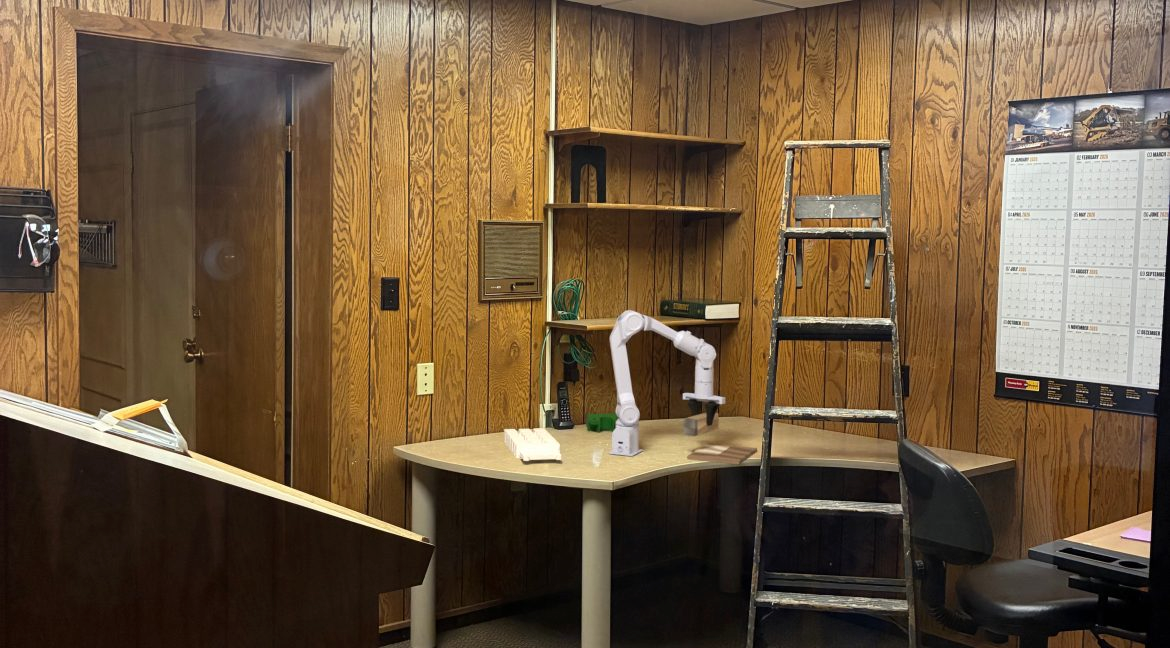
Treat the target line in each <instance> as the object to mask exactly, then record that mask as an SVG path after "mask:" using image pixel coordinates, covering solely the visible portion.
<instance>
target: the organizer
mask: <svg viewBox="0 0 1170 648" xmlns="http://www.w3.org/2000/svg"><path fill="white" fill-rule="evenodd" d="M532 430H533V431H532ZM532 430H531V428H518V431H517V430H516V429H515V428H504V429H503V443H504V442H505V443H506V445H507V446H508V447H509V449H510V450H511V452H513V454H514V456H515V457H516V458H522V459H523V460H522V461H524V462H529V461H532V460H533V461H534V460H535V461H538V460H541V461H542V460H555V461H561V460H562V458H563V457H562V454H561V453H560V452H561V451H560V450H561V449H560V448H561V445H560V442H558V440H556V438H555V437H554V436H552V434H551V433H549V431H547V430H546V429H545V427H544V428H543V427H540V428H539V427H538V428H534V427H533V429H532ZM506 445H505V446H506ZM507 446H506V447H507ZM509 449H508V450H509ZM510 450H509V451H510ZM511 452H510V453H511ZM513 454H512V455H513ZM514 456H513V457H514ZM515 457H514V458H515Z"/></svg>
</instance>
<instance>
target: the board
mask: <svg viewBox="0 0 1170 648" xmlns="http://www.w3.org/2000/svg"><path fill="white" fill-rule="evenodd" d="M757 452H758V448H757V447H749V446H739V445H728V444H717V443H706V444H704V445H703V446H701V447H699V448H698V449H696V450H694V451H693V452H692V453H690V454H688V455H687V456H686V460H690V461H691V460H692V461H702V462H703V461H704V462H711V463H712V462H713V463H719V464H720V463H723V464H729V465H730V464H731V465H732V464H733V465H740V464H742V463H743V462H744V461H745V460H747V459H748V458H750V457H751V456H752V455H754V454H755V453H757Z"/></svg>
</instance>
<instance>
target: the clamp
mask: <svg viewBox="0 0 1170 648" xmlns="http://www.w3.org/2000/svg"><path fill="white" fill-rule="evenodd" d="M618 419H619V418H618V416H617V415H616V412H612V413H587V414H586V423H585V427H586V428H587V431H589V432H595V431H596V432H597V433H598V434H599V433H601V431H611V433H613V431H614V430H615V428H616V421H617V420H618Z"/></svg>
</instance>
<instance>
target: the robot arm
mask: <svg viewBox="0 0 1170 648" xmlns="http://www.w3.org/2000/svg"><path fill="white" fill-rule="evenodd" d="M641 330H642V331H653V332H655V333H657V334H659V335H661V336H662V337H665V338H666V339H669V340H671V341H672V343H673V346H674V347H675V348H676V349H678V350H680V351H682V352H684V353H685V354H688V355H689V356H691V357H694V358H695V368H694V370H695V371H694V393H693V392H692V393H691V392H684V393H682V400H683V401H684V400H689V401H687V405H688V407H689V410H690V411H691V414H692V416H695V415H699V414H701V410H702V405H703V402H705V403H704V408H705V413H706V415H707V419H706V423H707V426H710V425H712V423H713V419H714V416H715V413H717V411H718V409H719V408H720V406H721V405H725V404H726V397H725V396H724V397H723V396H718V395H714V372H715V371H714V370H715V369H714V360H715V359H716V357H717V353H716V349H715V347H714V346H713V345H711V344H709V343H707V342H706V341H705V339H703V338H698V337H697V336H695V335H692V332H691V331H688V330H686V331H685V330H680V331H677V330H674V329H672V328H671V327H669V326H667V325H666V324H664V323H662V322H660V321H659V320H657V319H655V318H653V317H651V316H647V315H646V314H642V313H639V312H637V311H634V310H631V309H628V310H625V311H624V312H621V314H620V315H619V316H618V317H617V318H616V322H615V324H614V327H613V328H612V330H611V332H610V335H609V346H610V351H611V352H610V353H611V360H612V367H613V372H614V373H613V374H614V379H615V380H614V382H615V386H616V387H615V388H616V401H617V403H616V407H615V413H616V415H617V416H618V418H619V419H618V420H617V421H616V428H615V430H614V431H613V432H611V433H612V434H611V450H610V451H609V452H608V454H610V455H617V456H618V455H619V456H629V457H634V456H635V455H637V454H639V453H642V452H643V451H644V449H642V448H639V442H640V441H639V439H640V437H639V435H640V432H639V431H640V429H639V428H640V422H639V420H640V416H641V415H640V410H639V408H638V406H637V405H636V402H635V397H634V394H633V393H634V392H633V387H632V385H633V384H632V379H631V373H630V365H629V357H628V352H627V345H626V344H627V342H628V341H629V339H631V337H632V336H633V335H635V334H638V333H639V332H640V331H641Z"/></svg>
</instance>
